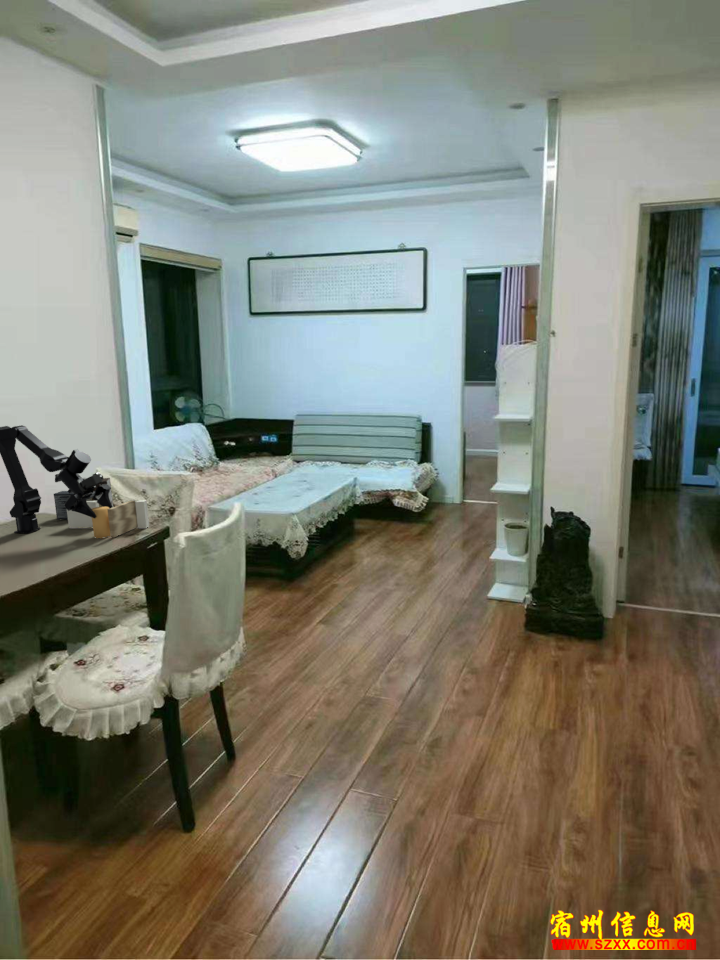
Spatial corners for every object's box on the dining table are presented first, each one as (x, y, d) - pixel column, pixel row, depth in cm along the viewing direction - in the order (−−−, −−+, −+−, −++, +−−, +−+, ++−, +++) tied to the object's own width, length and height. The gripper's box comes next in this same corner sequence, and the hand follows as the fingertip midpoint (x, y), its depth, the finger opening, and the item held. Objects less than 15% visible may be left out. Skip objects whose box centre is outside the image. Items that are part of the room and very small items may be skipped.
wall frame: (149, 526, 246) (146, 500, 244) (146, 528, 244) (143, 501, 242) (71, 526, 250) (68, 500, 248) (68, 528, 247) (64, 502, 245)
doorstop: (92, 539, 232) (89, 511, 230) (95, 534, 238) (92, 507, 236) (111, 537, 233) (107, 509, 231) (113, 532, 239) (110, 505, 237)
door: (135, 526, 246) (132, 499, 244) (139, 526, 246) (136, 499, 244) (110, 537, 233) (107, 509, 231) (114, 537, 232) (111, 509, 230)
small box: (90, 515, 267) (87, 489, 265) (81, 519, 260) (78, 493, 258) (64, 515, 268) (61, 490, 266) (56, 519, 261) (52, 493, 259)
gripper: (67, 471, 223) (98, 505, 222) (103, 462, 241) (133, 492, 239) (50, 494, 227) (81, 526, 226) (87, 482, 244) (116, 513, 243)
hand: (104, 514), depth 234 cm, fingers open, 9 cm apart
